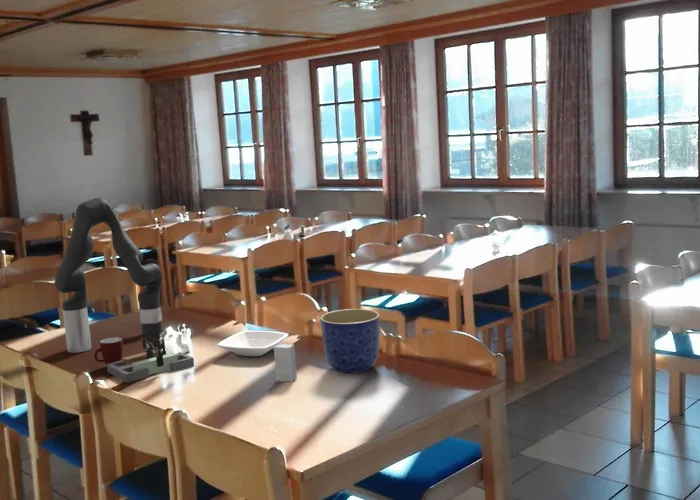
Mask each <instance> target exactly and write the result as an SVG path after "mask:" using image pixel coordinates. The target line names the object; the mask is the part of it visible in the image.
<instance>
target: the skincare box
mask: <svg viewBox="0 0 700 500" xmlns="http://www.w3.org/2000/svg"><path fill="white" fill-rule="evenodd" d="M273 352H274V353H273V354H274V366H275V381H276V380H280V381H279V382H283V381H293V380H294V381H295V380H297V377H298V376H297V362H296V351H295V344H285V343H282V344H281V343H279V344H278V345H277V346H275V347H273ZM294 381H293V382H294Z"/></svg>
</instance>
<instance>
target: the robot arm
mask: <svg viewBox="0 0 700 500" xmlns="http://www.w3.org/2000/svg"><path fill="white" fill-rule="evenodd" d="M103 223H105V224H106V225H107V227H109V229H110V232H111V239H112V240H111V241H112V247H113V250H114V251H115V254H116V255H117V256H118V258H120V261H122V263H123V264H124V265H125V266H126V269H127V272H128V274H129V276H130V279H131V280H132V282H133V284H136V285H137V286H139V287H144V286H146V287H145V290H144V291H143V292H141V293H140V294H139V293H138V294H139V301H138V303H139V320H140V331H141V338H142V349H143V350H144V351H145V352H146V354H147V359H150V358H153V351H154V352H155V354H156V356H157V357H156V360H157V366H158V367H161V366H163V365H164V364H163V355H166V351H165V349H166V345H165V339H164V338H162V337H160V334H162V333H163V332H164V328H163V327H164V326H163V316H162V309H161V304H160V303H161V302H160V301H161V300H159V294H160V293H161V287H162V286H161V285H162V279H163V273H162V270H161V268H160V267H159V265H158V264H157V263H152V262H151V263H148V264H147V263H146V265H145V264H143V265H142V264H141V263H142V261H143V258H144V254H143V252H142V251H141V250H140V248H139V247H138V246H137V245H136V244H135V243H134V242H133V240H132V239H131V238H130V236H129V235H128V234H127V232H126V231H125V228H124V227H123V225H122V224H121V222H120V220H119V218H118V217H117V214H116V213H115V212H114V209H113V208H112V206H111V205H110V204H109V202H108V201H107V200H106V199H105V198H103V197H102V196H101V197H95V198H92V199H89V200H86V201H84V202H81V203H80V204H79V205H78V206H77V207H76V210H75V215H74V221H73V225H72V226H73V227H72V230H71V234H70V238H69V240H68V243H67V245H66V250H65V253H64V256H63V258H62V262H60V265H59V266H58V268H57V271H56V273H55V277H54V287H55V288H56V290H57V291H58V292H59V293H60V294H61V293H62V294H67V293H73V292H74V293H73V294H72V296H70V297H69V298H67V299H66V300H64V301H63V302H62V304H61V305H62V307H61V308H62V314H63V322H64V331H65V340H66V349H67V352H68V353H70V354H77V353H78V354H79V353H84V352H88V351H90V350H91V349H92V339H91V332H90V323H89V322H90V321H89V315H88V314H89V312H88V305H87V304H88V303H87V302H88V298H87V296H88V295H87V280H86V279H87V278H86V274H85V272H84V270H83V268H81V267H82V266H84V264H86V263H88V261H89V260H90V258H91V257H92V253H93V251H94V247H95V242H94V239H93V238H92V235H91V234H90V230H91V229H92V228H93V227H95V226H97V225H100V224H103ZM162 349H163V350H162ZM152 350H153V351H152ZM157 351H158V352H157Z"/></svg>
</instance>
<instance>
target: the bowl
mask: <svg viewBox="0 0 700 500" xmlns="http://www.w3.org/2000/svg"><path fill="white" fill-rule="evenodd" d="M287 337H289V333H287V332H282V331H270V330H269V331H268V330H242V331H239V332H237V333H235V334H232V335H231V336H228V337H226V338H225V339H223V340H221V341H219V342H218V343H217V345H216V346H218V347H219V348H220V349H221V348H222V349H223V350H226V351H228V352H233V353H235V354H237V355H240V356H244V357H245V356H246V357H261V356H263V355H265V354H267V353H268V352H270V350H272V349H274V347H275V346H277V345H278V344H281V343H282V342H283V341H284V340H285V339H287Z"/></svg>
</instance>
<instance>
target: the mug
mask: <svg viewBox="0 0 700 500" xmlns="http://www.w3.org/2000/svg"><path fill="white" fill-rule="evenodd" d="M123 348H124V343H123V338H121V337H118V336H117V337H116V336H115V337H106V338H103V339H101V340H100V341H99V348H98V349H96V350H95V351H94V354H93V358H94V359H95V361H97V362H99V363H105V364H106V366H107V364H108V363H113V362H117V361H121V360H123V353H124V352H123V351H124V350H123ZM99 353H101V356H102V359H99V358H98V354H99Z"/></svg>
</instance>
